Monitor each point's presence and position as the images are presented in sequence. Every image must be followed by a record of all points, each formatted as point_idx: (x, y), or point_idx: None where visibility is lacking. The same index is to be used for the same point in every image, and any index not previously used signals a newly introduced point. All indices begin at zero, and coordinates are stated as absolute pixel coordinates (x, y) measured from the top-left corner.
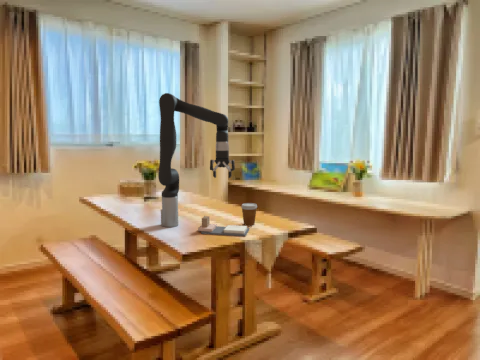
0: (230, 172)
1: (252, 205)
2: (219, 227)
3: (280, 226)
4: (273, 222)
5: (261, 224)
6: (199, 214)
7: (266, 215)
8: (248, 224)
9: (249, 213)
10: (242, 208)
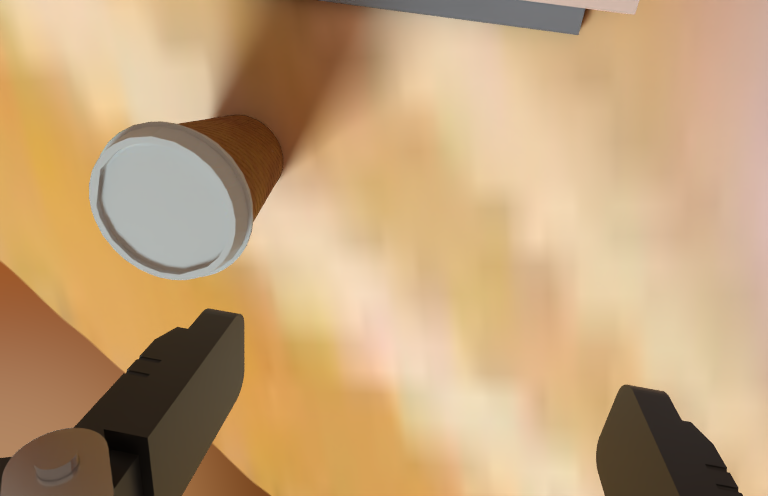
0: (98, 423)
1: (129, 194)
2: None
3: (14, 107)
4: (87, 215)
5: None
6: None
7: None
8: (237, 115)
9: (183, 124)
10: (236, 165)
